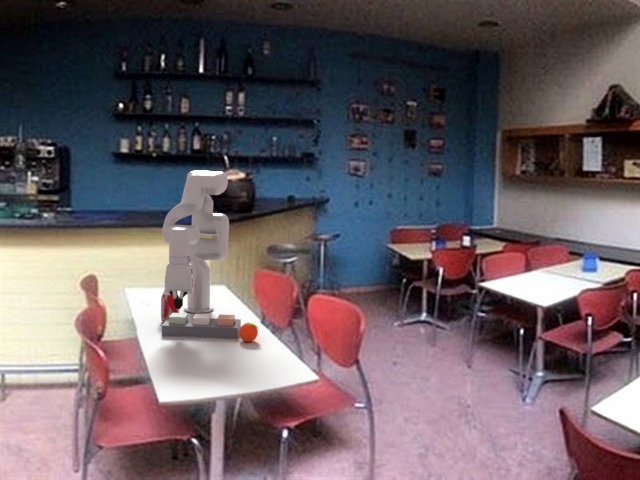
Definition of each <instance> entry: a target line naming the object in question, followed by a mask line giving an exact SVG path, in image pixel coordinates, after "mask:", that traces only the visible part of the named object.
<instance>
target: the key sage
mask: <svg viewBox="0 0 640 480" xmlns="http://www.w3.org/2000/svg"><path fill="white" fill-rule="evenodd" d="M188 318H189V312H179V313H172V314H171V315H170V316H169V324H186V323H187V321H188Z"/></svg>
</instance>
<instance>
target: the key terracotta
mask: <svg viewBox="0 0 640 480" xmlns="http://www.w3.org/2000/svg"><path fill="white" fill-rule="evenodd" d="M216 319H217V325H221V326H234V324H235V319H236V315H235V314H219V315H218V317H217V318H216Z"/></svg>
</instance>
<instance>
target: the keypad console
mask: <svg viewBox="0 0 640 480" xmlns="http://www.w3.org/2000/svg"><path fill="white" fill-rule="evenodd" d="M241 323H242V321H241V318H239V319H236V318H235V324H234V326H221V325H217V318H212V317H211V323H210V325H194V324H193V317H188V321H187V323H186V324H169V317H168V318H167V320H166V321H165V322H162V325H161V336H162V337H182V338H183V337H184V338H185V337H186V338H187V337H189V338H213V339H217V338H218V339H238V338H239V330H240V327H241V326H242V325H241Z"/></svg>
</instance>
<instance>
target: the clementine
mask: <svg viewBox="0 0 640 480" xmlns="http://www.w3.org/2000/svg"><path fill="white" fill-rule="evenodd" d="M259 330H260V328H259V327H258V326H257V325H256V324H254V323H253V322H252V323H251V322H245V323H243V324H242V325H241V327H240V330H239V335H238V337H239V338H240V340H242V341H243V342H247V343H250V342H254V341H255V340H256V339H257V337H258V334H259Z"/></svg>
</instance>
